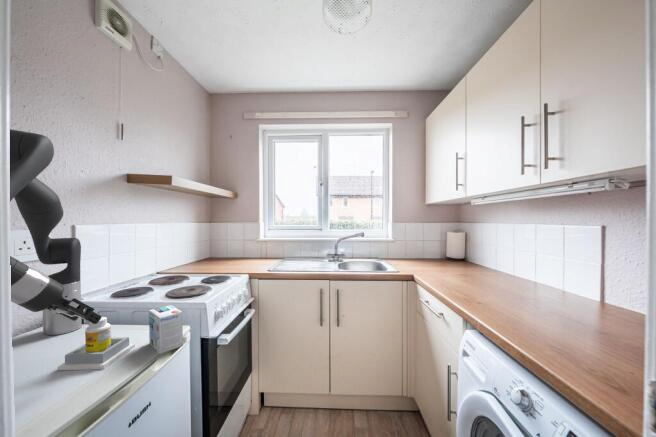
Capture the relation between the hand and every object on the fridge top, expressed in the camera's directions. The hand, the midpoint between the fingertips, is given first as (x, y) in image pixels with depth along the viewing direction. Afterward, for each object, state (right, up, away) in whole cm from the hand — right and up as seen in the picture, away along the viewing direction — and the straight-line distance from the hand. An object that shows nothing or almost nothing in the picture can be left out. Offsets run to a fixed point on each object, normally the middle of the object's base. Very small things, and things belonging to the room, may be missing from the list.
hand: (87, 319), depth 75 cm
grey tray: (+1, -12, +3) cm, 12 cm away
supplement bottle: (+1, -11, +2) cm, 12 cm away
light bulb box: (+16, -12, +10) cm, 22 cm away
